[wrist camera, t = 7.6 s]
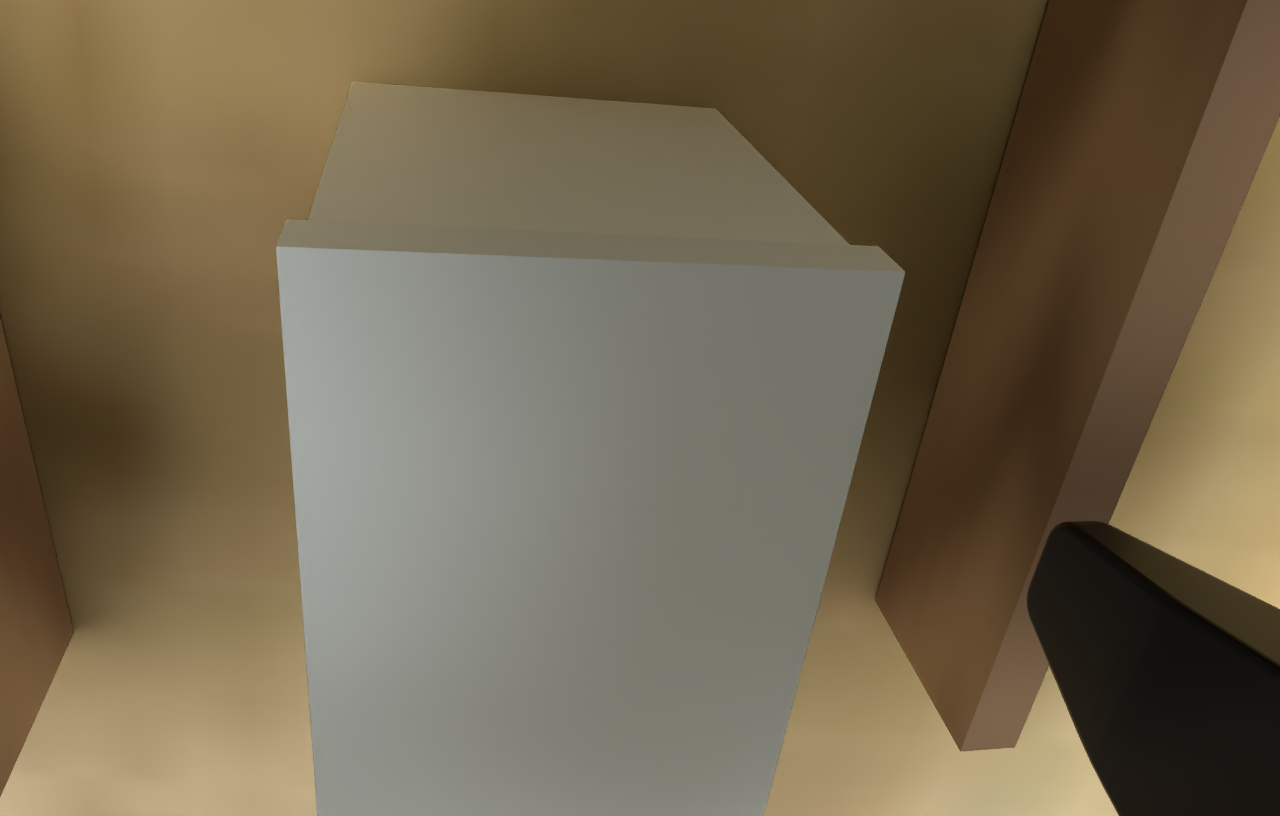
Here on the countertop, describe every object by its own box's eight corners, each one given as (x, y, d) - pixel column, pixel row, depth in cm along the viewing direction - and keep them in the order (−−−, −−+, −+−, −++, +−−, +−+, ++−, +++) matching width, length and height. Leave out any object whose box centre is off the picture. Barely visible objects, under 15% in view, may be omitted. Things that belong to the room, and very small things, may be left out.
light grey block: (657, 533, 14) (756, 843, 10) (358, 539, 13) (322, 881, 9) (723, 99, 11) (905, 271, 7) (342, 69, 10) (275, 246, 6)
